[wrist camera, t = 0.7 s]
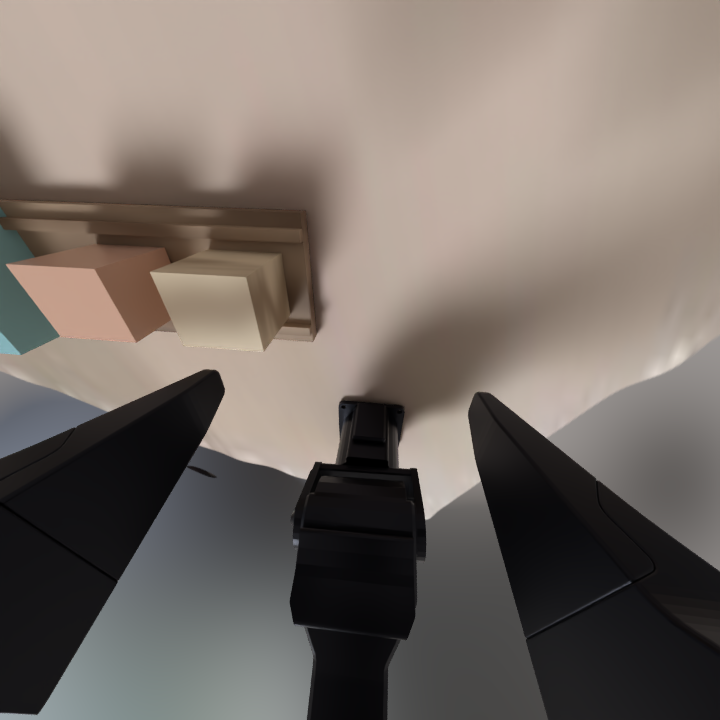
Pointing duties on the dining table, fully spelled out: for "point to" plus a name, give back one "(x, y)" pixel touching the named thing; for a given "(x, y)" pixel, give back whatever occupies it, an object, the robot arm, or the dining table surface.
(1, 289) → the teal end stop
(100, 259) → the block
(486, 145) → the dining table surface
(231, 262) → the beige slanted block
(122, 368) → the dining table surface
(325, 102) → the dining table surface
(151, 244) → the channel
